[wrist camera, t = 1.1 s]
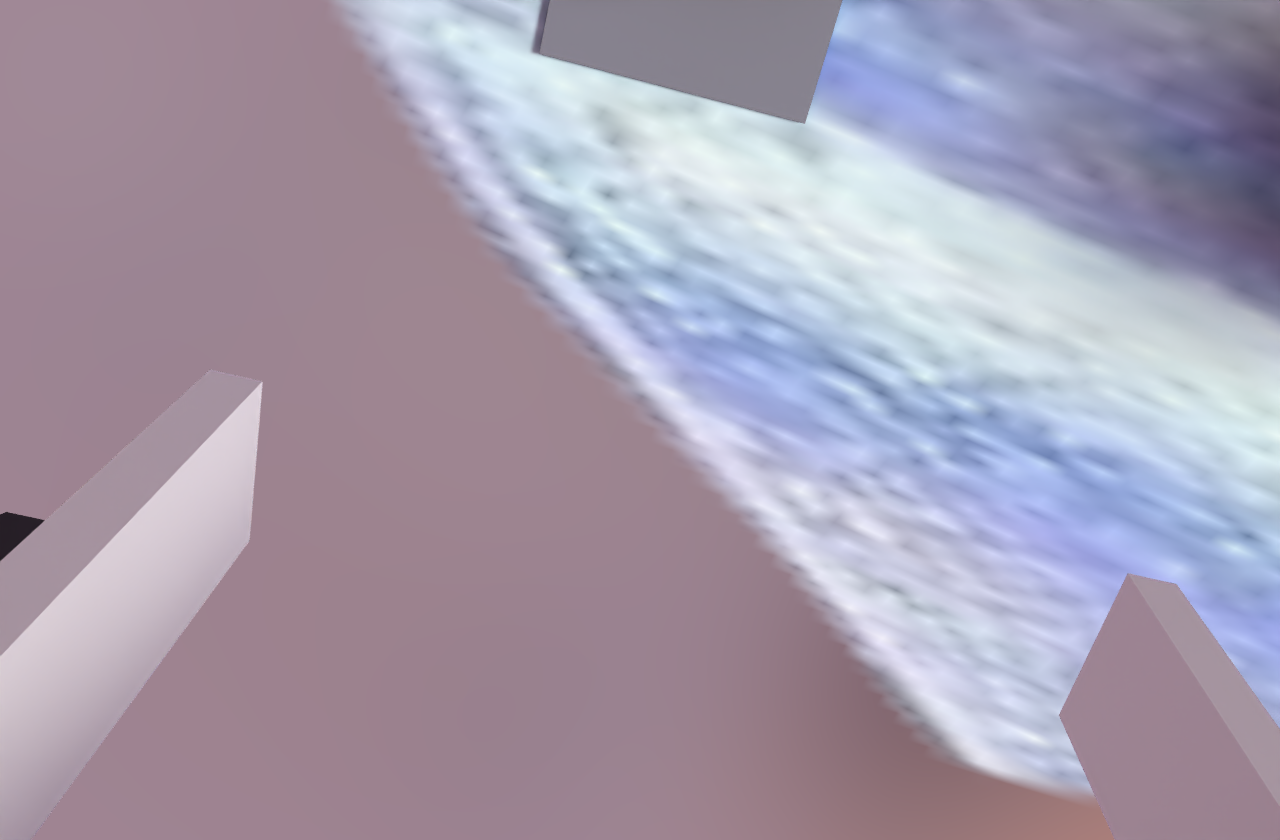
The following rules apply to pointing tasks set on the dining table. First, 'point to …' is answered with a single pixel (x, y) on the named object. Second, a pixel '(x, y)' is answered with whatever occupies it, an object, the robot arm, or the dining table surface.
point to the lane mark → (702, 46)
